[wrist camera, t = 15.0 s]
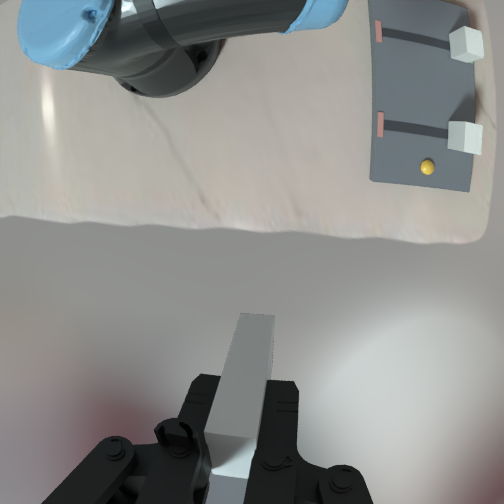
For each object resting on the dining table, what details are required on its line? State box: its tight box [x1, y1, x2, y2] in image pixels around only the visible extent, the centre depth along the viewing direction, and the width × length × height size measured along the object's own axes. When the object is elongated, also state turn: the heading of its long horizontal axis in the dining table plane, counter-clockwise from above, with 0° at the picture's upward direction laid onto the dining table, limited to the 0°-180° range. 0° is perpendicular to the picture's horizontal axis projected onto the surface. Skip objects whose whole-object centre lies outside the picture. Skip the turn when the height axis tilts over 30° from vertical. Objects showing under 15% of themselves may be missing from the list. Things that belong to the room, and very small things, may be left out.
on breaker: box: [449, 26, 484, 63], centre depth 25 cm, size 4×2×4 cm
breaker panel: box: [368, 0, 475, 192], centre depth 31 cm, size 26×14×2 cm, turn 1°
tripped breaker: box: [448, 121, 482, 155], centre depth 30 cm, size 4×2×4 cm
